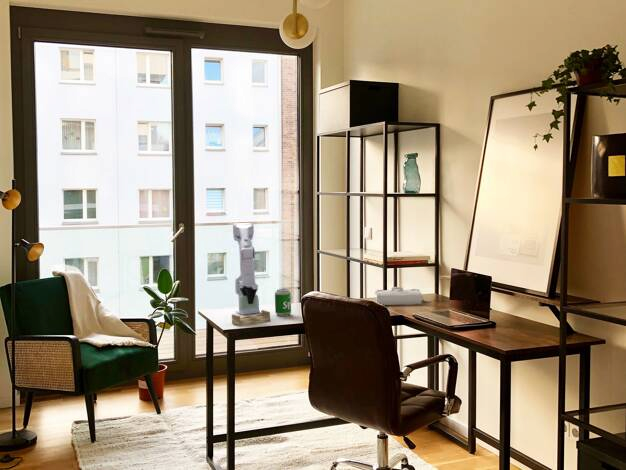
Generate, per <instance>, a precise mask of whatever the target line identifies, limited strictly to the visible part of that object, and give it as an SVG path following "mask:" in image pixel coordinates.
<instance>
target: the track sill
mask: <svg viewBox="0 0 626 470" xmlns="http://www.w3.org/2000/svg"><path fill="white" fill-rule="evenodd" d="M266 322H271V312H270V311H268V310H265V309H262V310H260V313H259V314H258V313H257V314H252V315H245V316H241V315H238V314H235V313H233V314H231V324H232V325H235V326H238V327H239V326H244V325H245V326H246V325H251V323H252V324H258V323H266Z"/></svg>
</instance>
